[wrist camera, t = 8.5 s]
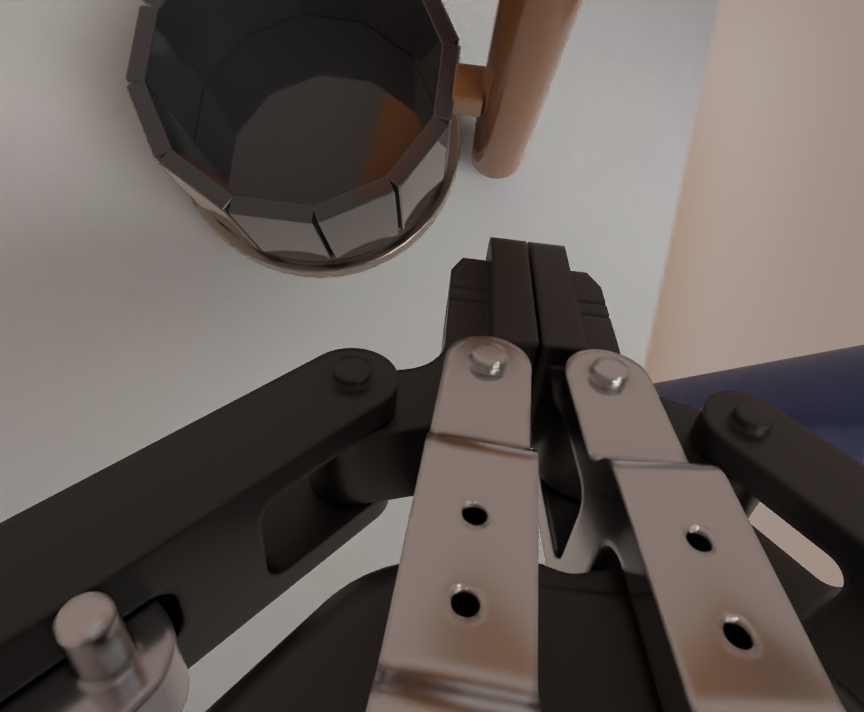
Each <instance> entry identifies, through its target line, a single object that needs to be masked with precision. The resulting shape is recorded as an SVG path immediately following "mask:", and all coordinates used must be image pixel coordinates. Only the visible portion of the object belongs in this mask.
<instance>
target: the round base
mask: <svg viewBox="0 0 864 712" xmlns="http://www.w3.org/2000/svg"><path fill="white" fill-rule="evenodd" d="M459 151H460V126H459V117H458V115H455V114H453V122H452V131H451V139H450V148H449V155H448V163H447V171H446V174H444V179H443V181H442V182H441V184H440V185H439V186H438V188H437V190H436V192H435V194H434V196H433V198H432V199H431V201H430V202H429V204H428V205H427V207H426V208H425V210H424V211H423V212H422V213H421V214H420V215H419V217H418V218H417V219H416V220H415V221H414V222H413V223H412V224H411V225H410V226H409V227H408V228H406V229H405V230H404V231H403V232H402V233H401V234H399V235H398V236H396V237H395V238H393V239H392V240H390V241H389V242H387V243H386V244H384V245H382V246H380V247H377V248H375V249H373V250H371V251H369V252H366V253H363V254H360V255H357V256H354V257H350V258H345V259H340V260H334V261H320V262H315V261H300V260H294V259H289V258H284V257H280V256H277V255H274V254H271V253H267V252H263V251H262V250H261V249H256V248H255V247H253V246H252V245H251V244H249V243H248V242H246V241H244V240H243V239H241V238H240V237H238V236H237V235H235V234H234V233H233V232H232V231H231V230H230V229H228V228H227V227H226V226H225V225H224V224H223V223H221V222H220V221H219V220H217V219H216V218H215V217H213V216H212V215H211V214H209V213H208V212H207V211H205V210H204V209H203V208H202V207H201V206H200V205H199V204H198V203H197V202H196V201H195V200H194V199H193V197H192V196H191V198H192V200H193V202H194V204H195V205H196V207H197V208H198V210H199V211H200V213H201V214H202V216H203V217H204V219H205V220H206V221H207V222H208V223H209V225H210V226H211V227H212V228H213V229H214V230H215V231H216V232H217V233H218V234H219V235H220V236H221V237H222V238H223V239H224V240H225V241H226V242H228V243H229V244H230V245H231V246H232V247H233V248H235V249H236V250H237V251H239V252H240V253H242V254H243V255H245V256H246V257H248V258H249V259H251V260H253V261H255V262H257V263H259V264H261V265H263V266H266V267H268V268H271V269H274V270H277V271H280V272H283V273H287V274H292V275H298V276H303V277H321V278H322V277H336V276H343V275H348V274H353V273H358V272H361V271H364V270H367V269H370V268H373V267H376V266H378V265H380V264H382V263H384V262H386V261H388V260H390V259H392V258H394V257H395V256H397V255H398V254H400V253H401V252H403V251H404V250H406V249H407V248H408V247H409V246H411V245H412V244H413V243H414V242H415V241H416V240H417V239H419V238H420V237H421V236H422V235H423V233H424V232H425V231H426V230H427V229H428V228H429V227H430V226H431V224H432V223H433V222H434V220H435V219H436V217H437V216H438V214H439V213H440V211H441V210H442V208H443V206H444V204H445V202H446V200H447V198H448V196H449V194H450V191H451V188H452V185H453V182H454V179H455V175H456V170H457V165H458V159H459Z"/></svg>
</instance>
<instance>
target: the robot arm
mask: <svg viewBox="0 0 864 712" xmlns="http://www.w3.org/2000/svg"><path fill="white" fill-rule="evenodd" d="M530 448H533V449H530ZM408 496H414V497H413V502H412V507H411V511H410V516H409V521H408V525H407V530H406V535H405V540H404V544H403V549H402V554H401V558H400V563H399V564H397V565H393V566H389V567H385V568H382V569H379V570H377V571H374V572H372V573H369V574H366V575H364V576H362V577H361V578H359V579H357V580H355V581H353V582H351V583H349V584H348V585H346V586H345V587H344V588H342V589H341V590H339V591H338V592H336V593H335V594H334V595H332V596H331V597H330V598H329V599H328V600H327V601H325V602H324V603H323V604H322V605H321V606H320V607H319V608H318V609H317V610H315V611H314V612H313V613H312V614H311V615H310V616H309V617H308V618H307V619H306V620H305V621H303V622H302V623H301V624H300V625H299V626H298V627H297V628H296V629H295V630H294V631H293V632H292V633H290V634H289V635H288V636H287V637H286V638H285V639H284V640H283V641H282V642H281V643H280V644H278V645H277V646H276V647H275V648H274V649H273V650H272V651H271V652H270V653H269V654H268V655H266V656H265V657H264V658H263V659H262V660H261V661H260V662H259V663H258V664H257V665H256V666H254V667H253V668H252V669H251V670H250V671H249V672H248V673H247V674H246V675H245V676H244V677H242V678H241V679H240V680H239V681H238V682H237V683H236V684H235V685H234V686H233V687H232V688H231V689H229V690H228V691H227V692H226V693H225V694H224V695H223V696H222V697H221V698H220V699H219V700H217V701H216V702H215V703H214V704H213V705H212V706H211V707H210V708H209V709H208V710H207V711H205V712H864V465H862V464H861V463H859V462H858V461H856V460H855V459H853V458H852V457H850V456H849V455H847V454H845V453H844V452H842V451H841V450H839V449H838V448H836V447H835V446H833V445H832V444H830V443H829V442H827V441H826V440H824V439H823V438H821V437H820V436H818V435H817V434H815V433H814V432H812V431H811V430H809V429H808V428H806V427H805V426H803V425H802V424H800V423H799V422H797V421H796V420H794V419H793V418H791V417H790V416H788V415H787V414H785V413H784V412H782V411H781V410H779V409H778V408H776V407H775V406H773V405H771V404H770V403H768V402H766V401H764V400H762V399H760V398H757V397H754V396H752V395H748V394H745V393H740V392H731V391H726V392H718V393H715V394H712V395H711V396H709V397H708V398H707V399H706V400H705V402H704V404H703V406H702V408H701V410H700V411H699V410H696V409H693V408H690V407H687V406H684V405H681V404H678V403H675V402H672V401H669V400H666V399H664V398H661V397H659V396H658V394H657V392H656V389H655V387H654V385H653V383H652V381H651V378H650V377H649V375H648V373H647V372H646V371H645V370H644V369H643V368H642V367H641V366H640V365H639V364H637V363H636V362H634V361H633V360H631V359H629V358H628V357H626V356H623V355H621V354H620V350H619V347H618V344H617V340H616V337H615V334H614V330H613V327H612V323H611V320H610V318H609V313H608V310H607V307H606V306H605V300H604V297H603V293H602V290H601V287H600V286H599V285H598V284H597V283H596V282H595V281H594V280H593V279H592V278H591V277H590V276H589V275H588V274H587V273H584V272H576V271H570V267H569V263H568V258H567V254H566V250H565V247H564V246H559V245H550V244H542V243H534V242H528V243H526V241H518V240H509V239H501V238H492V237H491V238H490V241H489V245H488V251H487V257H486V261H484V260H476V259H467V258H462V259H461V260H460V261H459V262H458V263H457V264H456V265H455V267H454V268H453V269H452V270H451V277H450V285H449V292H448V300H447V307H446V315H445V323H444V330H443V341H442V352H441V354H440V355H439V356H438V357H437V358H436V359H435V360H433V361H432V362H430V363H428V364H426V365H423V366H420V367H417V368H412V369H405V370H396V368H395V367H394V365H393V364H392V363H391V362H390V361H389V360H388V359H387V358H385V357H384V356H382V355H380V354H378V353H375V352H373V351H369V350H365V349H359V348H345V349H338V350H334V351H330V352H327V353H325V354H323V355H321V356H319V357H317V358H315V359H313V360H311V361H309V362H307V363H306V364H304V365H302V366H300V367H298V368H296V369H294V370H292V371H290V372H288V373H286V374H284V375H283V376H281V377H279V378H277V379H275V380H273V381H271V382H269V383H267V384H265V385H263V386H262V387H260V388H258V389H256V390H254V391H252V392H250V393H248V394H246V395H244V396H242V397H241V398H239V399H237V400H235V401H233V402H231V403H229V404H227V405H225V406H223V407H221V408H219V409H218V410H216V411H214V412H212V413H210V414H208V415H206V416H204V417H202V418H200V419H198V420H197V421H195V422H193V423H191V424H189V425H187V426H185V427H183V428H181V429H179V430H177V431H175V432H174V433H172V434H170V435H168V436H166V437H164V438H162V439H160V440H158V441H156V442H154V443H153V444H151V445H149V446H147V447H145V448H143V449H141V450H139V451H137V452H135V453H133V454H132V455H130V456H128V457H126V458H124V459H122V460H120V461H118V462H116V463H114V464H112V465H110V466H109V467H107V468H105V469H103V470H101V471H99V472H97V473H95V474H93V475H91V476H89V477H88V478H86V479H84V480H82V481H80V482H78V483H76V484H74V485H72V486H70V487H68V488H66V489H65V490H63V491H61V492H59V493H57V494H55V495H53V496H51V497H49V498H47V499H45V500H44V501H42V502H40V503H38V504H36V505H34V506H32V507H30V508H28V509H26V510H24V511H23V512H21V513H19V514H17V515H15V516H13V517H11V518H9V519H7V520H5V521H3V522H1V523H0V712H182V711H183V708H184V706H185V703H186V700H187V696H188V691H189V673H188V669H189V668H190V667H191V666H192V665H194V664H195V663H196V662H197V661H199V660H200V659H201V658H202V657H204V656H205V655H206V654H207V653H209V652H210V651H211V650H212V649H214V648H215V647H216V646H217V645H219V644H220V643H221V642H222V641H224V640H225V639H226V638H227V637H229V636H230V635H231V634H232V633H234V632H235V631H236V630H237V629H239V628H240V627H241V626H242V625H244V624H245V623H246V622H247V621H249V620H250V619H251V618H252V617H254V616H255V615H256V614H257V613H259V612H260V611H261V610H262V609H264V608H265V607H266V606H267V605H269V604H270V603H271V602H272V601H274V600H275V599H276V598H277V597H279V596H280V595H281V594H282V593H284V592H285V591H286V590H287V589H289V588H290V587H291V586H292V585H294V584H295V583H296V582H297V581H299V580H300V579H301V578H302V577H304V576H305V575H306V574H307V573H309V572H310V571H311V570H312V569H314V568H315V567H316V566H317V565H319V564H320V563H321V562H322V561H324V560H325V559H326V558H327V557H329V556H330V555H331V554H332V553H334V552H335V551H336V550H337V549H339V548H340V547H341V546H342V545H344V544H345V543H346V542H347V541H348V540H350V539H351V538H352V537H353V536H355V535H356V534H357V533H358V532H360V531H361V530H362V529H363V528H365V527H366V526H367V525H368V524H370V523H371V522H372V521H373V520H375V519H376V518H377V517H378V516H379V515H380V514H381V513H382V512H383V511H384V509H385V508H386V506H387V503H388V500H391V499H396V498H402V497H408ZM759 502H762V503H763V504H764V505H765V506H767V507H768V508H769V509H771V510H772V511H773V512H774V513H776V514H777V515H778V516H779V517H781V518H782V519H783V520H785V521H786V522H787V523H788V524H790V525H791V526H792V527H793V528H795V529H796V530H797V531H799V532H800V533H801V534H802V535H804V536H805V537H806V538H807V539H809V540H810V541H812V542H813V543H814V544H815V545H816V546H818V547H819V548H820V549H822V550H823V551H824V552H825V553H827V554H828V555H829V556H830V557H831V558H832V559H833V560H834V561H835V562H836V563H837V565H838V566H839V568H840V570H841V571H842V574H843V577H844V586H843V587H833V586H830V585H827V584H825V583H823V582H822V581H820V580H819V579H817V578H816V577H815V576H813V575H812V574H811V573H810V572H809V571H807V570H806V569H805V568H804V567H802V566H801V565H800V564H799V563H798V562H796V561H795V560H794V559H793V558H792V557H790V556H789V555H788V554H787V553H785V552H784V551H783V550H782V549H780V548H779V547H778V546H777V545H776V544H774V543H773V542H772V541H771V540H769V539H768V538H767V537H766V536H765V535H763V534H762V533H761V532H760V531H758V530H757V529H756V528H755V527H754V526H752V525H751V524H750V522H749V520H748V518H749V516H750V515H751V513H752V512H753V510H754V509H755V507H756V506H757V505H758V503H759ZM538 523H539V529H540V534H541V540H542V546H543V552H544V557H545V563H546V566H545V565H542V564H539V563H538Z"/></svg>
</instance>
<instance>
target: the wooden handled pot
mask: <svg viewBox="0 0 864 712" xmlns="http://www.w3.org/2000/svg"><path fill="white" fill-rule="evenodd" d="M143 1H144V3H145V5H146V6H140V7H139V13H138V18H137V23H136V28H135V33H134V38H133V44H132V49H131V54H130V59H129V64H128V70H127V75H126V81H127V82H128V83H129V84H130V85H127V90H128V93H129V95H130V98H131V100H132V103H133V105H134V108H135V110H136V113H137V116H138V118H139V121H140V123H141V126H142V128H143V131H144V133H145V136H146V138H147V141H148V143H149V146H150V149H151V151H152V154H153V156H154V158H155V159H156V160H157V161H158V162H159V164H160V165H161V166H162V167H163V168H164V169H165V170H166V171H167V172H168V173H169V174H170V175H171V176H172V177H173V178H174V179H175V180H176V181H177V182H178V183H179V184H180V185H181V186H182V187H183V188H184V189H185V190H186V191H187V192H188V193H189V194H190V195H191V196H192V197H193V199H194V200H195V201H196V202H197V203H198V204H199V205H200V206H201V207H202V208H203V209H204V210H205V211H207V212H208V213H209V214H211V215H212V216H213V217H215V218H216V219H217V220H219V221H220V222H221V223H223V224H224V225H225V226H226V227H227V228H228V229H230V230H231V231H232V232H233V233H234V234H235V235H237V236H238V237H240V238H241V239H243V240H244V241H246V242H248V243H249V244H251V245H252V246H253V247H255V248H256V249H261V250H262V251H263V252H267V253H271V254H274V255H277V256H280V257H284V258H289V259H294V260H300V261H315V262H320V261H334V260H340V259H345V258H350V257H354V256H357V255H360V254H363V253H366V252H369V251H371V250H373V249H375V248H377V247H380V246H382V245H384V244H386V243H387V242H389V241H390V240H392V239H393V238H395V237H396V236H398V235H399V234H401V233H402V232H403V231H404V230H405V229H406V228H408V227H409V226H410V225H411V224H412V223H413V222H414V221H415V220H416V219H417V218H418V217H419V215H420V214H421V213H422V212H423V211H424V210H425V208H426V207H427V205H428V204H429V202H430V201H431V199H432V198H433V196H434V194H435V192H436V190H437V188H438V186H439V185H440V184H441V182H442V181H443V179H444V174H446V171H447V163H448V155H449V148H450V139H451V131H452V122H453V114H455V115H463V116H471V117H476V122H475V128H474V133H473V139H472V144H471V150H470V155H471V160H472V163H473V164H474V166H475V168H476V169H477V170H478V171H479V172H480V173H482V174H483V175H485V176H487V177H490V178H504V177H507V176H509V175H511V174H513V173H514V172H515V171H516V170H517V169H518V168H519V166H520V164H521V162H522V160H523V157H524V154H525V152H526V149H527V147H528V144H529V141H530V139H531V136H532V134H533V131H534V128H535V126H536V123H537V121H538V118H539V115H540V113H541V110H542V107H543V105H544V102H545V100H546V97H547V94H548V92H549V89H550V87H551V84H552V81H553V79H554V76H555V74H556V71H557V68H558V66H559V63H560V61H561V58H562V55H563V53H564V50H565V47H566V45H567V42H568V40H569V37H570V34H571V32H572V29H573V27H574V24H575V21H576V19H577V16H578V14H579V11H580V8H581V6H582V3H583V0H498V1H497V7H496V12H495V18H494V23H493V29H492V34H491V40H490V45H489V51H488V56H487V62H486V67H485V66H477V65H469V64H461V63H459V58H460V49H461V48H460V46H459V37H458V35H457V33H456V31H455V29H454V27H453V24H452V22H451V20H450V18H449V16H448V14H447V11H446V9H445V7H444V5H443V3H442V1H441V0H143Z"/></svg>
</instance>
